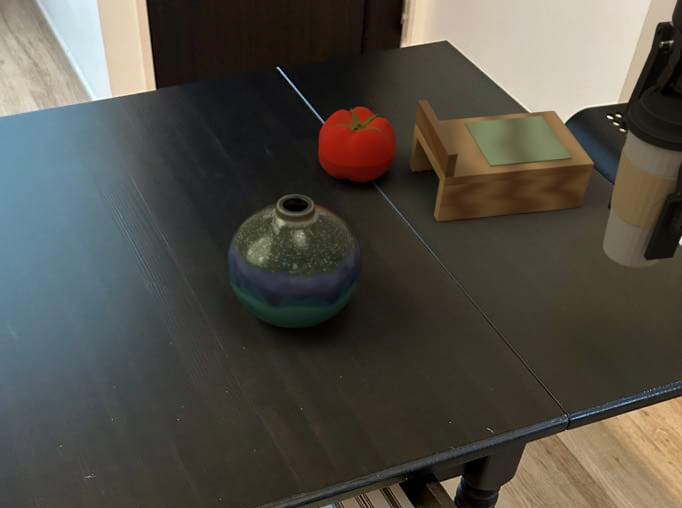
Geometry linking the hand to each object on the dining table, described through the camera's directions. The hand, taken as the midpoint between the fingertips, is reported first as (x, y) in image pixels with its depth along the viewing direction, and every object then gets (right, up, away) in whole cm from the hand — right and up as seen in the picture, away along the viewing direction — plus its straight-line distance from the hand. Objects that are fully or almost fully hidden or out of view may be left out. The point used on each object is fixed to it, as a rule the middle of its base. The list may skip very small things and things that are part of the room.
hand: (639, 231), depth 84 cm
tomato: (-26, +21, +33) cm, 47 cm away
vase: (-35, -3, +15) cm, 38 cm away
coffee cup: (0, -1, +2) cm, 2 cm away
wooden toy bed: (-7, +18, +31) cm, 36 cm away
